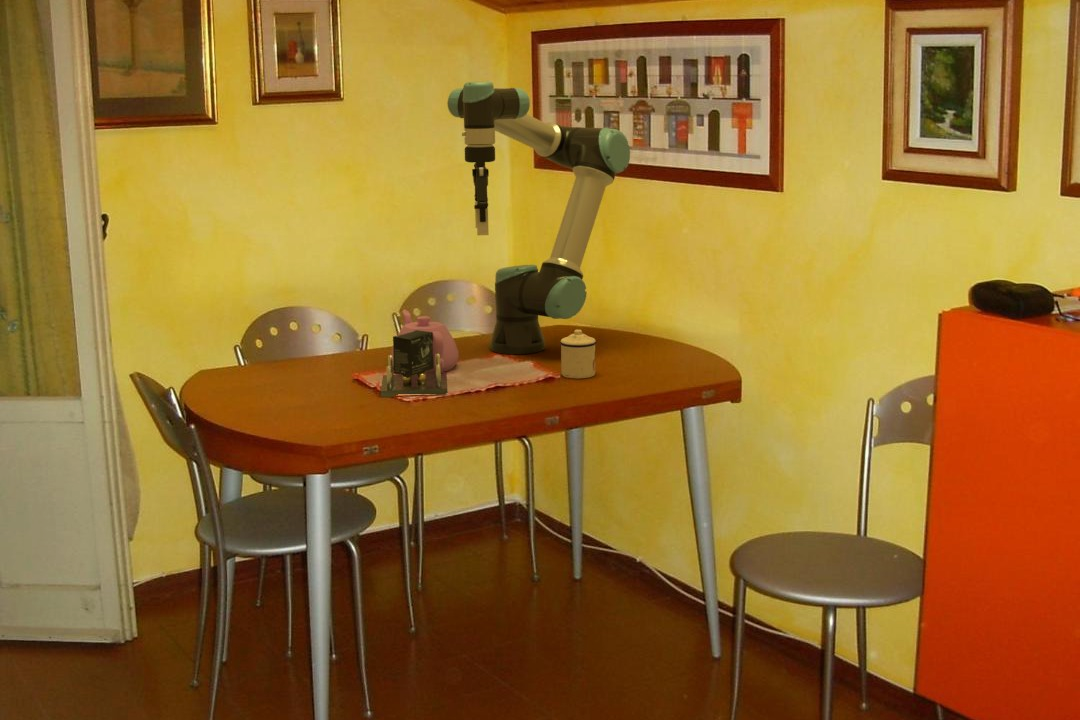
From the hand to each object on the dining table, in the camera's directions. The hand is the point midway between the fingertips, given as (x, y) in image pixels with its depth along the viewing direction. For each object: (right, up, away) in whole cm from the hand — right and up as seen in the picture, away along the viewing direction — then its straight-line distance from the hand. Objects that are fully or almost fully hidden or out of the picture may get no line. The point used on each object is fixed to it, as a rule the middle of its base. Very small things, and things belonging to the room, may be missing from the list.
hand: (481, 231), depth 331 cm
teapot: (-16, -34, +17) cm, 41 cm away
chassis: (-16, -39, -5) cm, 43 cm away
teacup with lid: (+24, -36, +7) cm, 44 cm away
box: (-16, -35, -5) cm, 39 cm away
